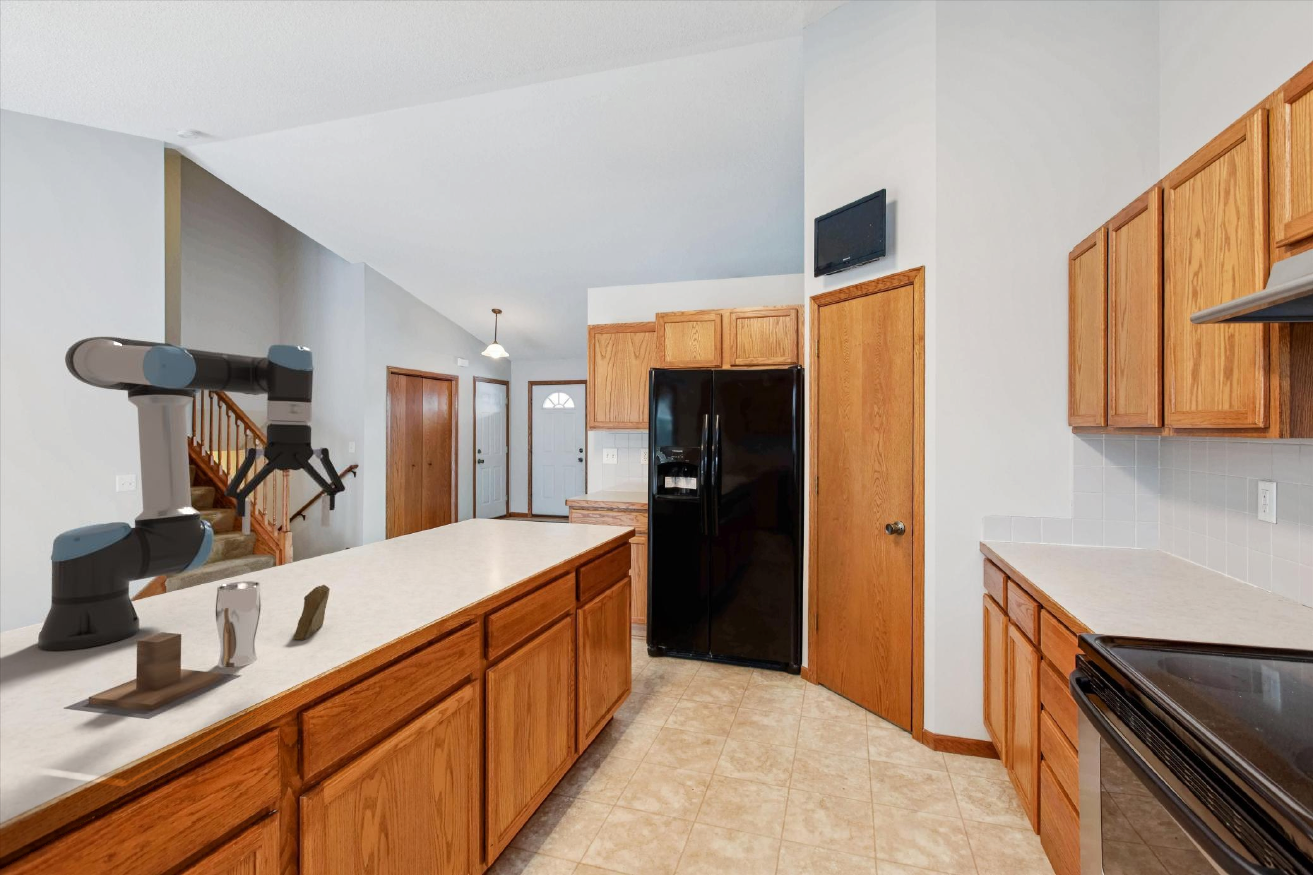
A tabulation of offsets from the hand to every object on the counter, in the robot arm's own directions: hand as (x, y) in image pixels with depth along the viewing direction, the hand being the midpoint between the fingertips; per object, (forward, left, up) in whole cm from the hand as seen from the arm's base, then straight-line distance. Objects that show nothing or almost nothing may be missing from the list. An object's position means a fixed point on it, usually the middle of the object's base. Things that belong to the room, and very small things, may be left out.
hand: (287, 530), depth 115 cm
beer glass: (-4, -7, -25) cm, 26 cm away
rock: (-5, +11, -25) cm, 28 cm away
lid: (-6, -20, -24) cm, 32 cm away
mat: (-6, -20, -25) cm, 32 cm away
